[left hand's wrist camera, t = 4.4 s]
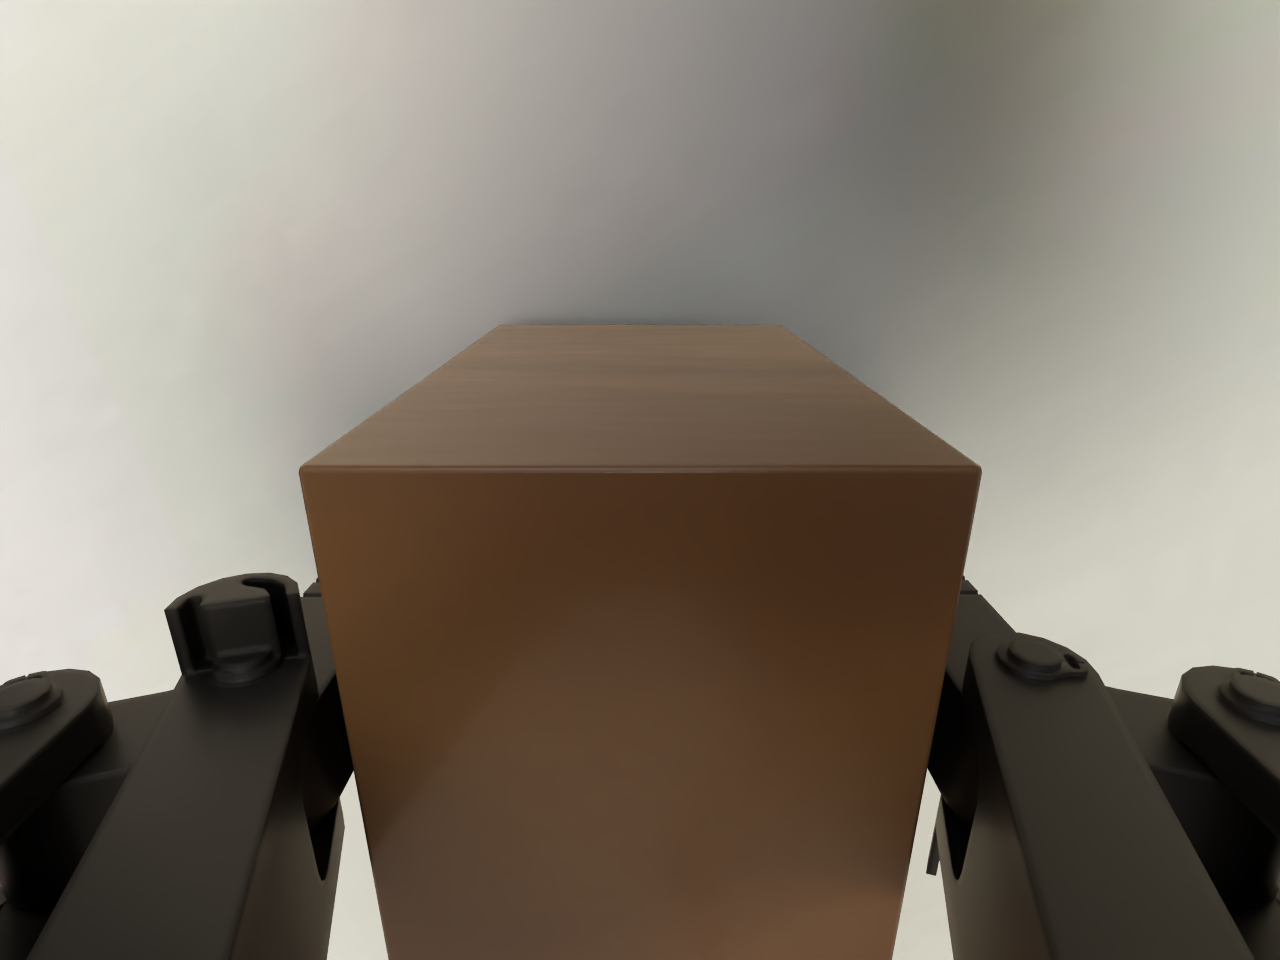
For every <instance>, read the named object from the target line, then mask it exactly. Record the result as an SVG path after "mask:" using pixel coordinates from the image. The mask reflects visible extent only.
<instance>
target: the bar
mask: <svg viewBox="0 0 1280 960" xmlns="http://www.w3.org/2000/svg"><path fill="white" fill-rule="evenodd" d="M981 475H982V470H981V467H980V466H979V465H978V464H976V463H975V462H973V461H972V460H970V459H969V458H968V457H966V456H965V455H963V454H962V453H961V452H959V451H958V450H956V449H955V448H953V447H952V446H951V445H949V444H948V443H946V442H945V441H944V440H942V439H941V438H939V437H938V436H937V435H935V434H934V433H932V432H931V431H929V430H928V429H927V428H925V427H924V426H922V425H921V424H920V423H918V422H917V421H915V420H914V419H913V418H911V417H910V416H908V415H907V414H905V413H904V412H903V411H901V410H900V409H898V408H897V407H896V406H894V405H893V404H891V403H890V402H888V401H887V400H886V399H884V398H883V397H881V396H880V395H879V394H877V393H876V392H874V391H873V390H872V389H870V388H869V387H867V386H866V385H864V384H863V383H862V382H860V381H859V380H857V379H856V378H855V377H853V376H852V375H850V374H849V373H847V372H846V371H845V370H843V369H842V368H840V367H839V366H838V365H836V364H835V363H833V362H832V361H831V360H829V359H828V358H826V357H825V356H823V355H822V354H821V353H819V352H818V351H816V350H815V349H814V348H812V347H811V346H809V345H808V344H807V343H805V342H804V341H802V340H801V339H799V338H798V337H797V336H795V335H794V334H792V333H791V332H790V331H788V330H787V329H785V328H784V327H782V326H781V325H499V326H498V327H496V328H495V329H494V330H492V331H491V332H489V333H488V334H487V335H485V336H484V337H482V338H481V339H479V340H478V341H477V342H475V343H474V344H472V345H471V346H470V347H468V348H467V349H465V350H464V351H463V352H461V353H460V354H458V355H457V356H455V357H454V358H453V359H451V360H450V361H448V362H447V363H446V364H444V365H443V366H441V367H440V368H439V369H437V370H436V371H434V372H433V373H431V374H430V375H429V376H427V377H426V378H424V379H423V380H422V381H420V382H419V383H417V384H416V385H415V386H413V387H412V388H410V389H409V390H408V391H406V392H405V393H403V394H402V395H400V396H399V397H398V398H396V399H395V400H393V401H392V402H391V403H389V404H388V405H386V406H385V407H384V408H382V409H381V410H379V411H378V412H376V413H375V414H374V415H372V416H371V417H369V418H368V419H367V420H365V421H364V422H362V423H361V424H360V425H358V426H357V427H355V428H354V429H353V430H351V431H350V432H348V433H347V434H345V435H344V436H343V437H341V438H340V439H338V440H337V441H336V442H334V443H333V444H331V445H330V446H329V447H327V448H326V449H324V450H323V451H321V452H320V453H319V454H317V455H316V456H314V457H313V458H312V459H310V460H309V461H307V462H306V463H305V464H303V465H302V466H300V469H299V476H300V481H301V487H302V492H303V498H304V503H305V508H306V514H307V519H308V525H309V530H310V536H311V541H312V546H313V552H314V557H315V563H316V568H317V573H318V579H319V584H320V590H321V595H322V601H323V606H324V611H325V617H326V622H327V628H328V633H329V639H330V644H331V649H332V655H333V660H334V666H335V671H336V677H337V682H338V687H339V693H340V698H341V704H342V709H343V715H344V720H345V725H346V731H347V736H348V742H349V747H350V752H351V758H352V763H353V769H354V774H355V780H356V785H357V790H358V796H359V801H360V807H361V812H362V818H363V823H364V828H365V834H366V839H367V845H368V850H369V856H370V861H371V866H372V872H373V877H374V883H375V888H376V893H377V899H378V904H379V910H380V915H381V921H382V926H383V931H384V937H385V942H386V948H387V953H388V959H389V960H892V956H893V950H894V945H895V939H896V934H897V929H898V923H899V918H900V912H901V907H902V902H903V896H904V891H905V885H906V880H907V875H908V869H909V864H910V858H911V853H912V848H913V842H914V837H915V831H916V826H917V821H918V815H919V810H920V804H921V799H922V794H923V788H924V783H925V777H926V772H927V767H928V761H929V756H930V750H931V745H932V740H933V734H934V729H935V723H936V718H937V713H938V707H939V702H940V696H941V691H942V686H943V680H944V675H945V669H946V664H947V659H948V653H949V648H950V642H951V637H952V632H953V626H954V621H955V615H956V610H957V605H958V599H959V594H960V588H961V583H962V578H963V572H964V567H965V561H966V556H967V551H968V545H969V540H970V534H971V529H972V524H973V518H974V513H975V507H976V502H977V497H978V491H979V486H980V480H981Z"/></svg>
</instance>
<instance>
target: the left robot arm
mask: <svg viewBox="0 0 1280 960" xmlns="http://www.w3.org/2000/svg"><path fill="white" fill-rule="evenodd" d="M164 611H165V615H166V618H167V622H168V626H169V629H170V633H171V636H172V640H173V644H174V647H175V651H176V654H177V658H178V662H179V665H180V669H181V672H182V676H181V677H180V679H179V681H178V683H177V685H176V687H175V688H174V690H170V691H166V692H161V693H156V694H150V695H145V696H140V697H134V698H129V699H124V700H119V701H113V702H107V699H106V696H105V693H104V690H103V687H102V684H101V681H100V678H99V677H97V676H96V675H94V674H93V673H91V672H90V671H85V670H76V669H64V670H56V671H48V672H47V671H41V672H37V673H32V674H29V675H28V676H27V677H25V675H24V676H21V677H18V678H15V679H12V680H9V681H7V682H5V683H4V684H3V685H1V686H0V960H327V953H328V945H329V938H330V931H331V923H332V916H333V909H334V902H335V894H336V887H337V880H338V873H339V865H340V858H341V851H342V843H343V836H344V829H345V826H344V819H343V812H342V807H341V802H340V795H341V793H342V792H343V790H344V788H345V786H346V784H347V782H348V780H349V778H350V776H351V774H352V772H353V771H354V769H353V763H352V758H351V752H350V747H349V742H348V736H347V731H346V725H345V720H344V715H343V709H342V704H341V698H340V693H339V687H338V682H337V677H336V671H335V666H334V660H333V655H332V649H331V644H330V639H329V633H328V628H327V622H326V617H325V611H324V606H323V601H322V595H321V590H320V584H319V579H318V578H317V579H316V583H313V584H312V585H311V586H310V587H309V588H308V589H307V590H306V591H305V592H304V593H303V597H300V594H299V589H298V584H297V582H295V581H294V580H292V579H291V578H289V577H288V576H285V575H279V574H274V573H252V574H243V575H238V576H233V577H227V578H222V579H219V580H216V581H213V582H210V583H208V584H205V585H202V586H199V587H197V588H195V589H193V590H191V591H189V592H187V593H185V594H183V595H182V596H180V597H178V598H177V599H175V600H174V601H173V602H172V603H171V604H170V605H169V606H168V607H167V608H166V609H165V610H164ZM927 768H928V770H929V772H930V774H931V776H932V777H933V779H934V781H935V783H936V785H937V787H938V789H939V791H940V793H941V797H940V802H939V807H938V812H937V817H936V822H935V827H934V832H933V837H932V842H931V847H930V853H929V858H928V864H927V871H926V873H927V874H931V875H935V876H936V872H937V868H938V863H939V861H940V864H941V871H942V878H943V885H944V893H945V900H946V907H947V914H948V922H949V929H950V936H951V943H952V951H953V958H954V960H1280V682H1279V681H1278V680H1277V679H1276V678H1274V677H1271V676H1268V675H1265V674H1262V673H1259V672H1257V674H1256V673H1254V672H1253V671H1251V670H1246V669H1242V668H1228V667H1220V666H1204V667H1195V668H1192V669H1190V670H1189V671H1187V672H1186V673H1184V674H1183V675H1182V677H1181V680H1180V683H1179V686H1178V689H1177V692H1176V695H1175V698H1174V699H1168V698H1163V697H1158V696H1152V695H1147V694H1142V693H1136V692H1131V691H1126V690H1120V689H1115V688H1111V687H1107V686H1105V685H1104V683H1103V682H1102V680H1101V678H1100V676H1099V674H1098V673H1097V672H1096V671H1095V670H1094V668H1093V667H1092V666H1091V665H1090V664H1089V663H1088V662H1087V660H1085V659H1084V658H1082V657H1081V656H1079V655H1078V654H1076V653H1074V652H1073V651H1071V650H1070V649H1068V648H1067V647H1064V646H1062V645H1059V644H1057V643H1054V642H1052V641H1049V640H1047V639H1044V638H1041V637H1036V636H1032V635H1027V634H1023V633H1016V632H1015V631H1014V630H1013V629H1012V628H1011V627H1010V626H1009V624H1008V623H1007V622H1006V621H1005V620H1004V619H1003V618H1002V617H1001V616H1000V615H999V614H998V613H997V611H996V610H995V609H994V608H993V607H992V606H991V605H990V604H989V603H988V602H987V601H986V599H985V598H984V597H983V596H982V595H978V591H977V590H976V589H975V588H974V586H973V585H972V584H971V583H970V582H969V581H968V580H965V577H964V576H963V578H962V583H961V588H960V594H959V599H958V605H957V610H956V615H955V621H954V626H953V632H952V637H951V642H950V648H949V653H948V659H947V664H946V669H945V675H944V680H943V686H942V691H941V696H940V702H939V707H938V713H937V718H936V723H935V729H934V734H933V740H932V745H931V750H930V756H929V761H928V767H927Z"/></svg>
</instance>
